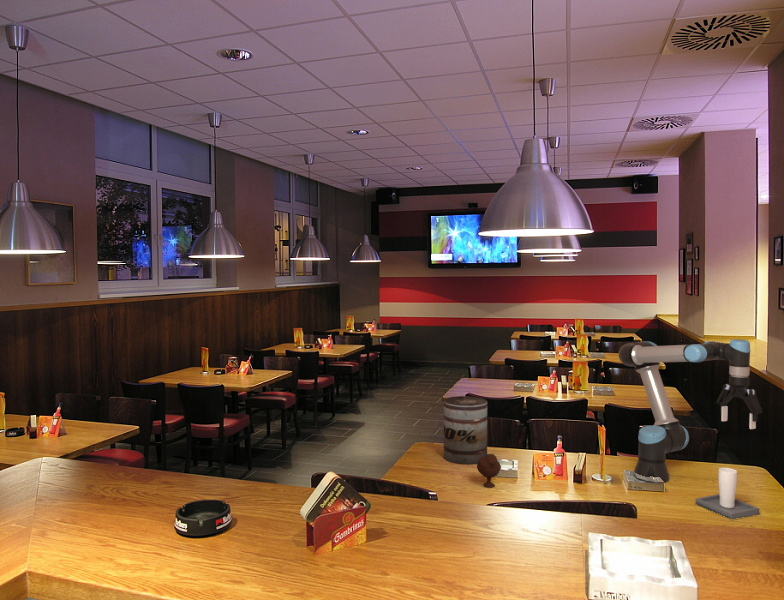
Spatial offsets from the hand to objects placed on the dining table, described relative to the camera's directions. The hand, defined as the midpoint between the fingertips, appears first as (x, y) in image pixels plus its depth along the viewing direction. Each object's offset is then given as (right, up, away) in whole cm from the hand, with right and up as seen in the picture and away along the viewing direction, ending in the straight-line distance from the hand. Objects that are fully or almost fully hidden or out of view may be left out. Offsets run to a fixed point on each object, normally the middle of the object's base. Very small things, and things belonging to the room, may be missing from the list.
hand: (738, 424), depth 259 cm
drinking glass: (-13, -31, -14) cm, 36 cm away
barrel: (-111, -29, +55) cm, 127 cm away
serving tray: (-13, -32, -14) cm, 37 cm away
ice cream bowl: (-105, -31, +14) cm, 110 cm away
